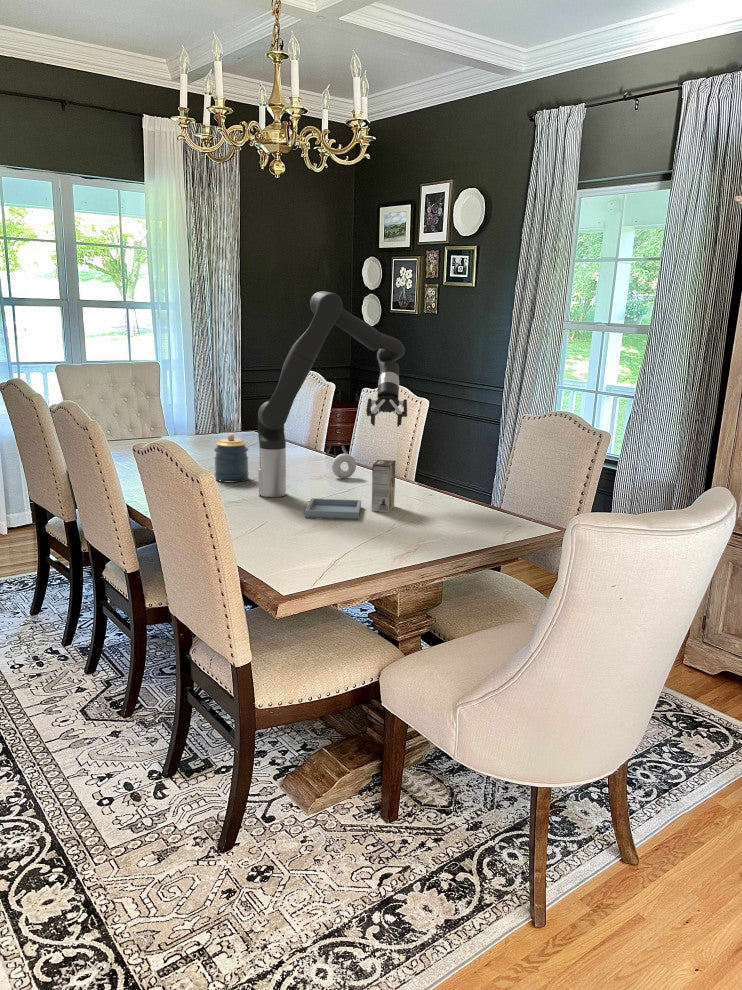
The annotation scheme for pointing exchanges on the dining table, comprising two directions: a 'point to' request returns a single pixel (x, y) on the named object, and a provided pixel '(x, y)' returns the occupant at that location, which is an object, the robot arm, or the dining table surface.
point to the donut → (339, 461)
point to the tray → (333, 509)
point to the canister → (231, 460)
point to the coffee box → (383, 485)
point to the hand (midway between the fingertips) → (385, 424)
